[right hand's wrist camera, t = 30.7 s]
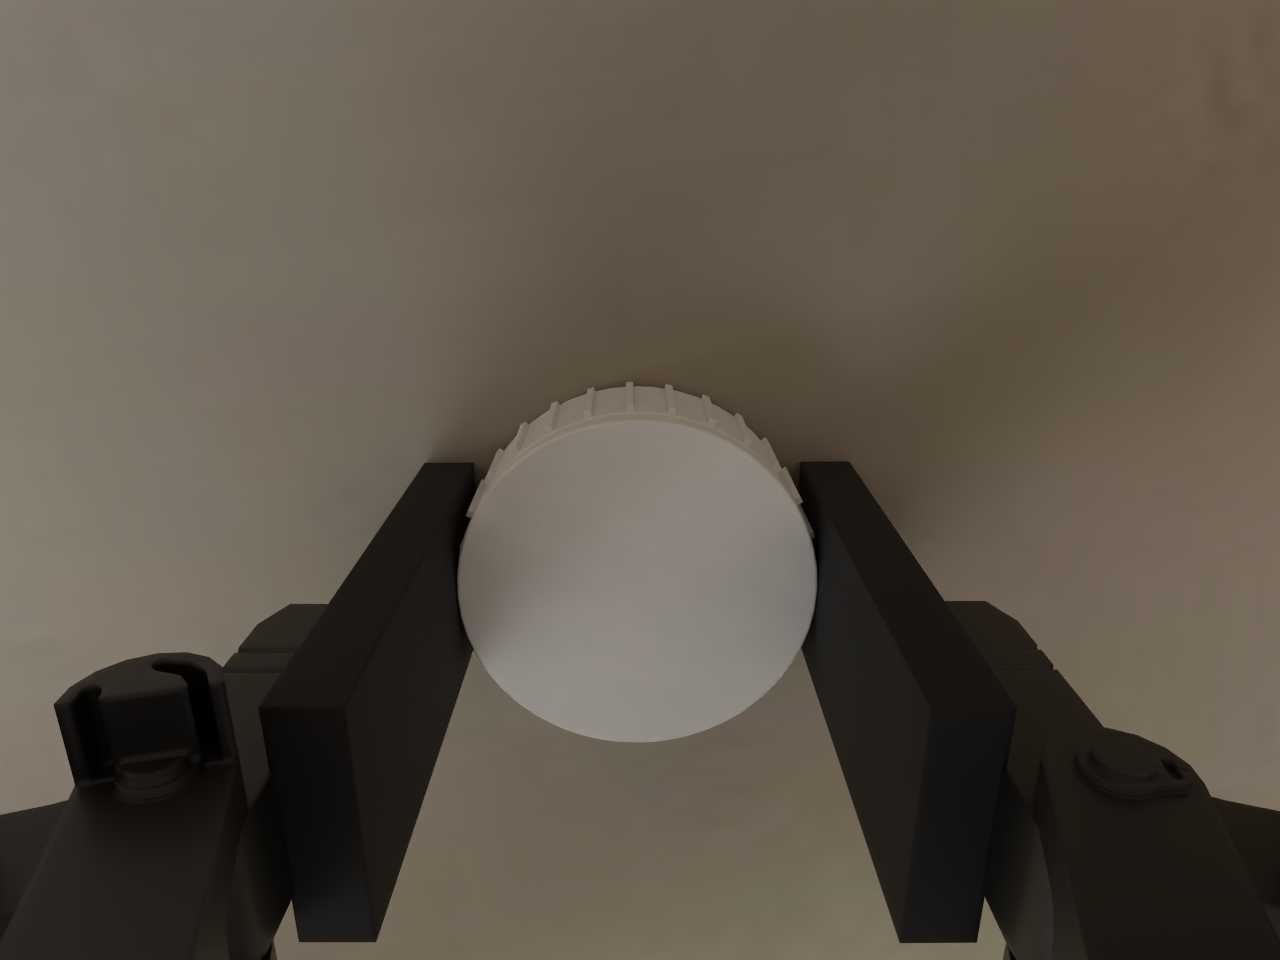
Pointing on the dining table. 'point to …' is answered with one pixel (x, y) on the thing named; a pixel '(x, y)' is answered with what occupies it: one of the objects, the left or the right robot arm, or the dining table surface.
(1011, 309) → the dining table surface
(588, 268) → the dining table surface
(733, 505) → the lid
